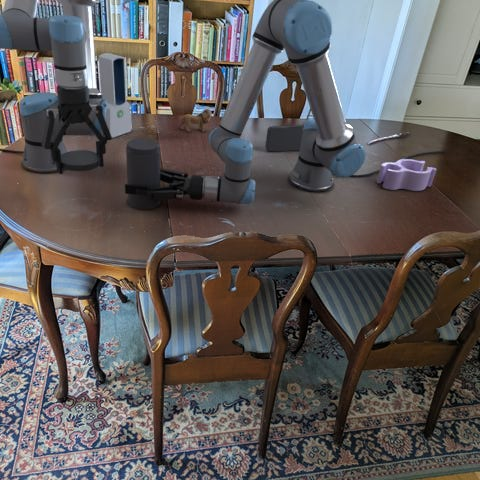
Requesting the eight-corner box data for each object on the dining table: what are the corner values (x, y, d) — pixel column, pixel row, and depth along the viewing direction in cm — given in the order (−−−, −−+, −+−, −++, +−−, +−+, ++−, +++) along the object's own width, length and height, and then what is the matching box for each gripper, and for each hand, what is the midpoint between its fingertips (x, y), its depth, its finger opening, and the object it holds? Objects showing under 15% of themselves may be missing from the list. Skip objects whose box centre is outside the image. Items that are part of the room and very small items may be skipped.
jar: (150, 212, 139) (150, 152, 128) (122, 205, 141) (119, 145, 131) (165, 199, 147) (166, 141, 136) (138, 192, 149) (136, 135, 138)
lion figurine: (208, 127, 204) (210, 107, 199) (212, 131, 200) (213, 111, 195) (176, 128, 199) (176, 107, 195) (179, 132, 195) (179, 111, 190)
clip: (389, 193, 165) (394, 175, 161) (370, 177, 175) (375, 160, 171) (435, 189, 171) (441, 172, 167) (414, 174, 181) (420, 158, 177)
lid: (94, 173, 121) (93, 167, 120) (53, 169, 121) (52, 163, 120) (105, 157, 130) (104, 152, 129) (67, 154, 130) (66, 148, 129)
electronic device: (110, 138, 183) (105, 58, 167) (97, 133, 186) (90, 54, 170) (132, 130, 192) (130, 54, 176) (119, 126, 195) (115, 50, 179)
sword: (406, 132, 223) (406, 130, 222) (411, 134, 221) (412, 132, 220) (362, 144, 207) (363, 141, 206) (368, 146, 205) (368, 143, 204)
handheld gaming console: (315, 147, 196) (319, 124, 190) (317, 149, 194) (322, 126, 188) (264, 149, 189) (267, 125, 183) (266, 152, 187) (269, 127, 181)
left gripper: (27, 93, 106) (41, 181, 118) (122, 86, 119) (126, 166, 130) (18, 85, 111) (32, 170, 123) (110, 78, 123) (115, 156, 135)
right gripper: (199, 217, 133) (121, 209, 133) (206, 183, 152) (137, 176, 151) (200, 193, 129) (119, 186, 129) (207, 161, 148) (136, 154, 147)
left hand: (80, 168), depth 127 cm, fingers closed on lid, 10 cm apart
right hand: (129, 181), depth 140 cm, fingers closed on jar, 10 cm apart
